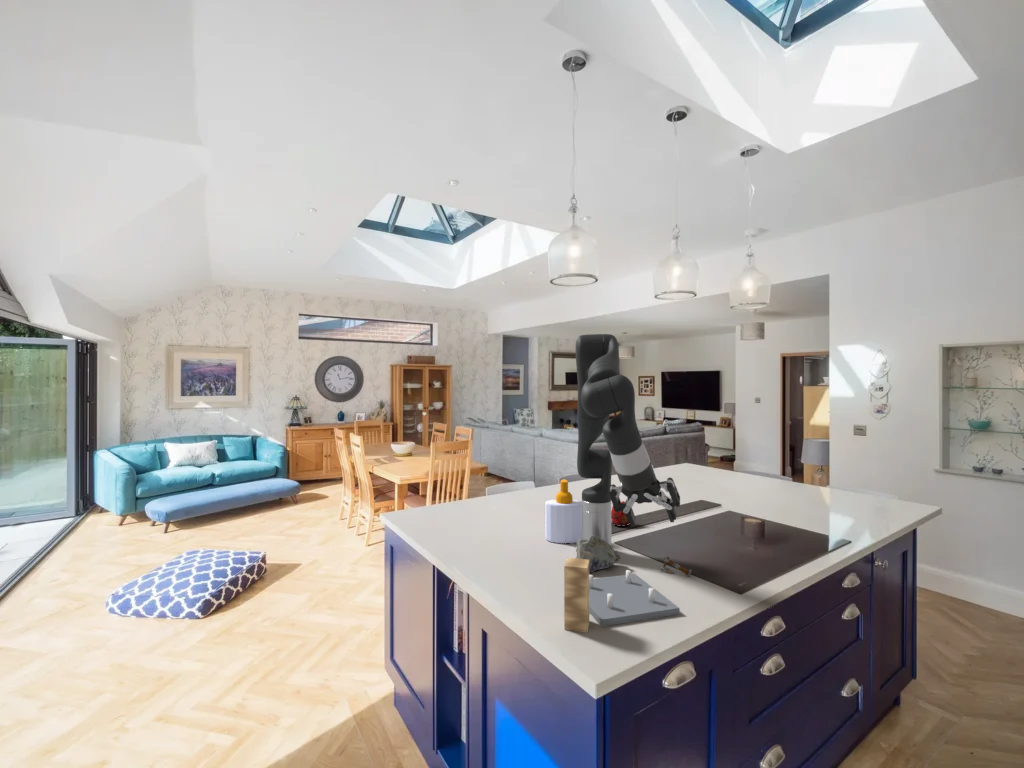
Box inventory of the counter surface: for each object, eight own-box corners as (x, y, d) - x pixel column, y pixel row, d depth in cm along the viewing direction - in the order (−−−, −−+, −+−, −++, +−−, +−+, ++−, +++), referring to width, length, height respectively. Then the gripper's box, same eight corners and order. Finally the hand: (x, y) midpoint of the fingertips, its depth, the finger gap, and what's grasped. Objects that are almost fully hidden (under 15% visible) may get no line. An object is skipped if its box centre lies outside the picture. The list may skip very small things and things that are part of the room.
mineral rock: (621, 565, 136) (620, 531, 136) (619, 579, 126) (619, 543, 126) (577, 560, 140) (577, 527, 140) (572, 574, 129) (572, 539, 129)
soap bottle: (582, 536, 162) (582, 479, 162) (584, 544, 153) (584, 484, 153) (545, 535, 163) (545, 478, 163) (544, 543, 155) (544, 483, 155)
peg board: (567, 587, 121) (567, 570, 121) (635, 579, 126) (634, 562, 126) (601, 626, 102) (601, 606, 102) (679, 614, 107) (679, 595, 107)
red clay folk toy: (621, 529, 170) (620, 489, 170) (606, 524, 175) (606, 485, 175) (634, 525, 174) (634, 486, 174) (620, 521, 180) (619, 483, 180)
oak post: (564, 629, 100) (564, 565, 100) (567, 618, 105) (567, 557, 105) (587, 632, 99) (587, 568, 99) (589, 620, 104) (589, 559, 104)
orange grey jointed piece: (658, 566, 133) (664, 553, 132) (684, 582, 130) (691, 569, 129) (657, 569, 131) (663, 555, 130) (684, 585, 128) (691, 571, 127)
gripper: (666, 447, 97) (686, 507, 102) (602, 457, 103) (623, 512, 108) (665, 469, 90) (686, 531, 96) (597, 477, 97) (620, 535, 102)
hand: (652, 521), depth 102 cm, fingers open, 8 cm apart
